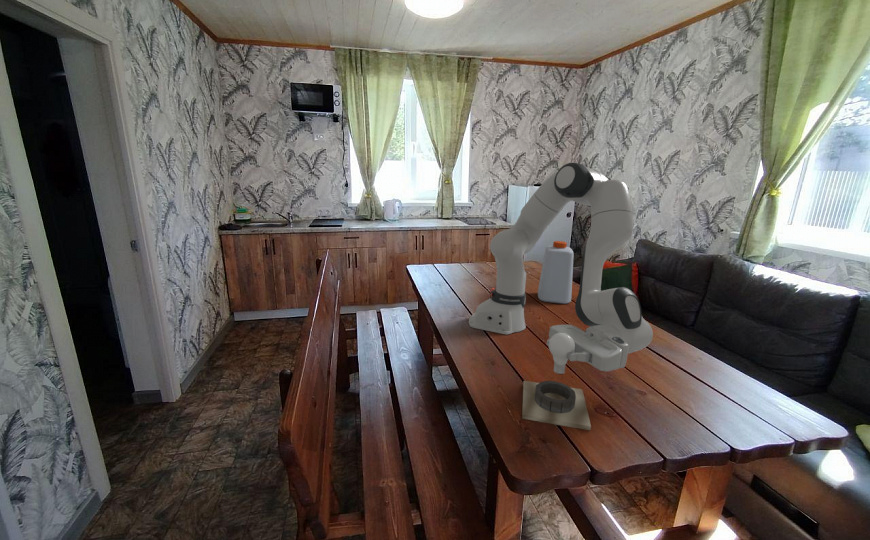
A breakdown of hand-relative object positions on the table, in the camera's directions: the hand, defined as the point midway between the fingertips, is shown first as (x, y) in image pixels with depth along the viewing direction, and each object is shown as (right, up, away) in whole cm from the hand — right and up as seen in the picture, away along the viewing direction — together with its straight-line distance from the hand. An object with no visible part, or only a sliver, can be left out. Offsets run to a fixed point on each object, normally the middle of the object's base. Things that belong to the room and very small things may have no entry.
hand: (558, 350), depth 94 cm
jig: (0, -16, +5) cm, 16 cm away
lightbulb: (+1, -7, +2) cm, 7 cm away
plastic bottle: (+27, +6, +88) cm, 92 cm away
